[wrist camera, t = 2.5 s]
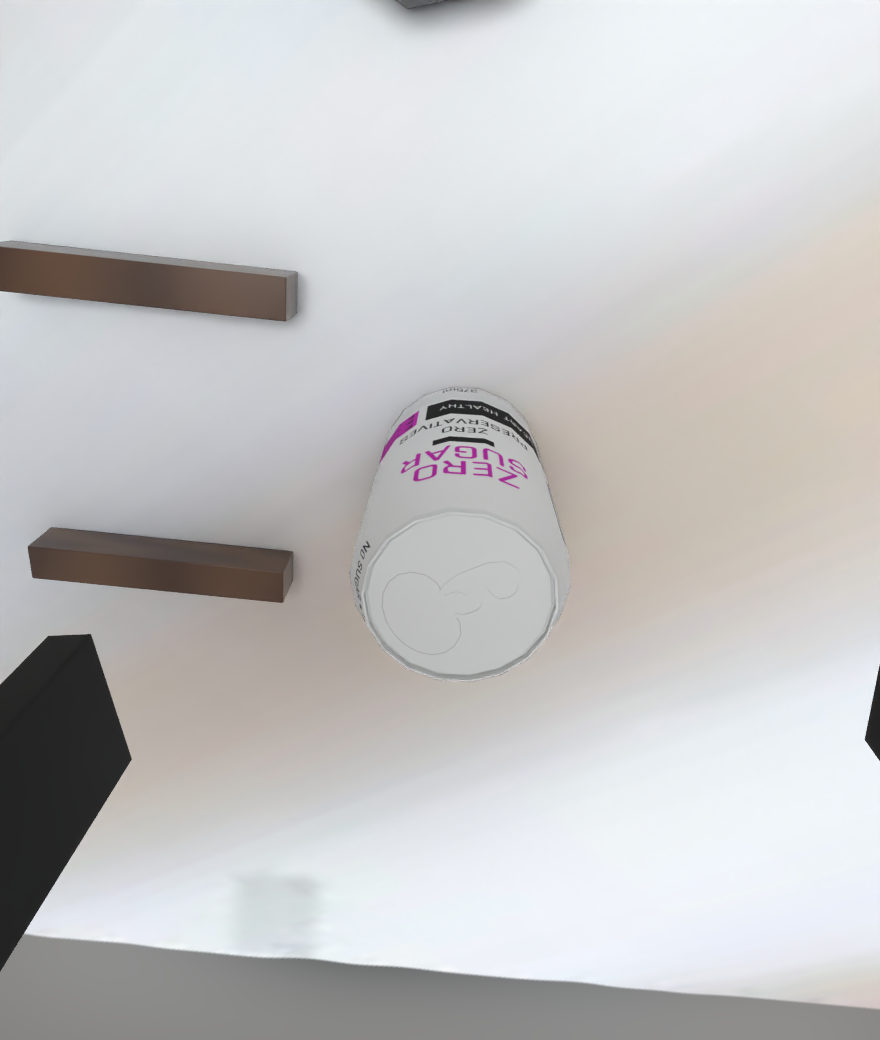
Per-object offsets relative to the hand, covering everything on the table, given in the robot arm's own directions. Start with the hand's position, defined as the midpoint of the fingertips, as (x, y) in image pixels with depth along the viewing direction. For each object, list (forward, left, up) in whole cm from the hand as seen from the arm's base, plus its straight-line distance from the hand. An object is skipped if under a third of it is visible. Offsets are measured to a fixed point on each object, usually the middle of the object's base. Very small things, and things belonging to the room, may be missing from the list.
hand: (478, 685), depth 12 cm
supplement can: (0, -6, -27) cm, 28 cm away
